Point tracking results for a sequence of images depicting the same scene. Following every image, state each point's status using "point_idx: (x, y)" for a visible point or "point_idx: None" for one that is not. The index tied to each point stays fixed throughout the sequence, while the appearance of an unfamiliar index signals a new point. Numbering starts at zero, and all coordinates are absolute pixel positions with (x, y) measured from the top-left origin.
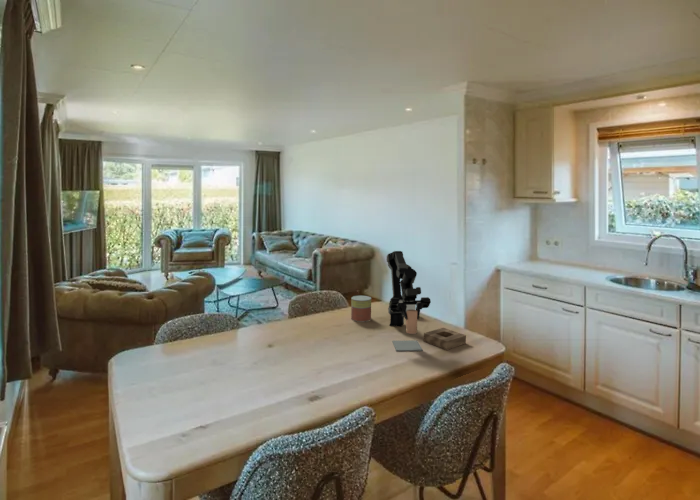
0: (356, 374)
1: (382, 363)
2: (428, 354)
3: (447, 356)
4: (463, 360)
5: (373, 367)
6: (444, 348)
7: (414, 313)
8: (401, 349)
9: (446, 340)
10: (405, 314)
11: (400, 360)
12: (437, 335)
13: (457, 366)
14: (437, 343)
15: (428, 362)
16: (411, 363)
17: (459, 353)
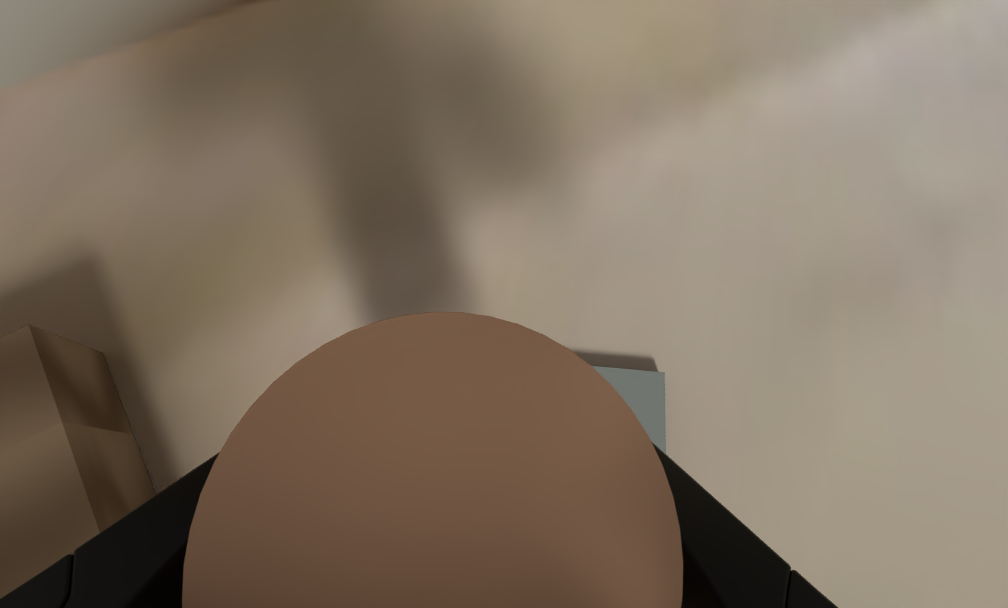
0: (987, 4)
1: (809, 135)
2: (354, 261)
3: (192, 196)
4: (98, 102)
5: (878, 81)
6: (107, 376)
7: (409, 323)
8: (606, 379)
9: (10, 360)
10: (691, 493)
11: (653, 169)
12: (9, 587)
13: (222, 14)
14: (125, 468)
15: (424, 105)
16: (572, 106)
17: (25, 248)
